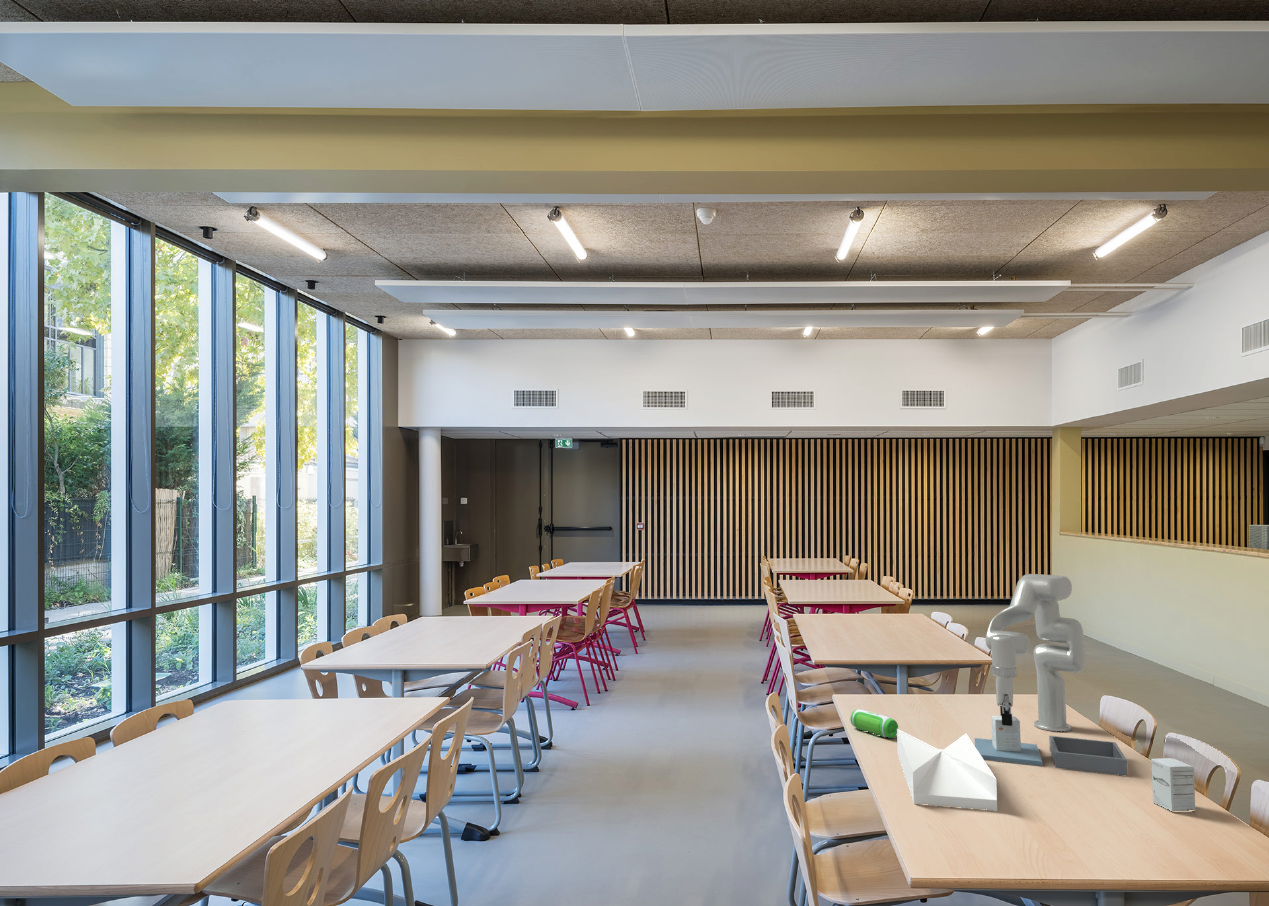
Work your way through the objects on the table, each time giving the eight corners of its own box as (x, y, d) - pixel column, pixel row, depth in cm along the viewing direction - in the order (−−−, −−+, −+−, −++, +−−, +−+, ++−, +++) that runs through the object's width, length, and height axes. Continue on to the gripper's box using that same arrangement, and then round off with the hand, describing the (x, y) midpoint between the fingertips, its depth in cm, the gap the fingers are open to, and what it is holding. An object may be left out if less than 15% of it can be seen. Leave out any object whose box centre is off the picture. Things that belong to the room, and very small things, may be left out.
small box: (1016, 747, 270) (1015, 716, 270) (1021, 752, 264) (1020, 720, 265) (992, 745, 271) (991, 714, 272) (996, 750, 266) (995, 719, 266)
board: (974, 742, 280) (974, 737, 280) (1036, 748, 273) (1036, 744, 273) (975, 758, 262) (975, 754, 262) (1042, 766, 254) (1042, 761, 254)
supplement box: (1152, 803, 223) (1149, 758, 223) (1176, 802, 223) (1174, 757, 224) (1171, 813, 215) (1169, 766, 216) (1196, 812, 216) (1194, 765, 217)
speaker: (899, 737, 286) (899, 717, 286) (886, 741, 282) (885, 719, 283) (862, 726, 301) (862, 706, 301) (849, 729, 297) (849, 709, 297)
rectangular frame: (1049, 750, 271) (1049, 735, 271) (1116, 757, 263) (1115, 742, 264) (1056, 767, 253) (1055, 752, 253) (1127, 776, 245) (1127, 759, 245)
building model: (897, 756, 265) (897, 728, 266) (966, 761, 260) (966, 732, 261) (913, 806, 222) (913, 771, 222) (997, 813, 217) (996, 778, 217)
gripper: (991, 665, 279) (993, 713, 278) (993, 676, 263) (995, 727, 262) (1014, 666, 276) (1016, 715, 275) (1018, 677, 260) (1020, 729, 259)
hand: (1006, 721), depth 268 cm, fingers open, 9 cm apart
